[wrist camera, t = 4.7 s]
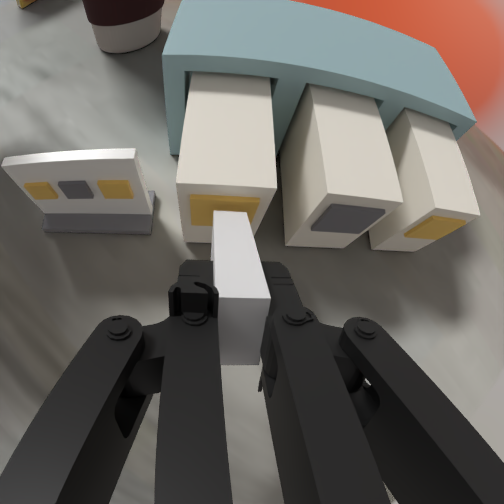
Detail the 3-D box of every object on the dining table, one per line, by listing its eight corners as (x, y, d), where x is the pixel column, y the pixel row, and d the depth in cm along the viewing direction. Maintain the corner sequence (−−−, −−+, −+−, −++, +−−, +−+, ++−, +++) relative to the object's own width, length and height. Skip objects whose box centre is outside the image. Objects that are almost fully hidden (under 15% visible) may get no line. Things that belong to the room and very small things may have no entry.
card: (44, 231, 19) (-6, 185, 12) (53, 195, 20) (11, 140, 13) (151, 234, 20) (129, 179, 13) (155, 194, 21) (140, 129, 14)
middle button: (285, 249, 21) (328, 198, 14) (277, 130, 24) (304, 59, 17) (343, 251, 22) (404, 206, 14) (327, 137, 25) (365, 74, 17)
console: (170, 154, 22) (161, 54, 13) (183, 78, 25) (186, -9, 16) (412, 180, 25) (476, 121, 16) (389, 109, 28) (435, 48, 19)
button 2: (371, 252, 22) (436, 211, 15) (352, 141, 25) (393, 82, 18) (415, 254, 23) (481, 219, 16) (392, 149, 26) (437, 98, 19)
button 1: (183, 245, 20) (175, 187, 13) (194, 124, 23) (197, 48, 16) (250, 248, 21) (277, 193, 13) (249, 127, 24) (267, 54, 16)
